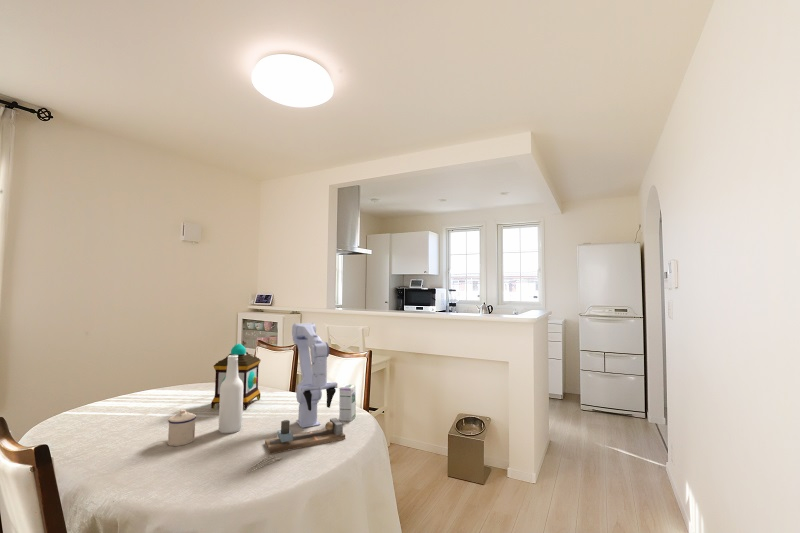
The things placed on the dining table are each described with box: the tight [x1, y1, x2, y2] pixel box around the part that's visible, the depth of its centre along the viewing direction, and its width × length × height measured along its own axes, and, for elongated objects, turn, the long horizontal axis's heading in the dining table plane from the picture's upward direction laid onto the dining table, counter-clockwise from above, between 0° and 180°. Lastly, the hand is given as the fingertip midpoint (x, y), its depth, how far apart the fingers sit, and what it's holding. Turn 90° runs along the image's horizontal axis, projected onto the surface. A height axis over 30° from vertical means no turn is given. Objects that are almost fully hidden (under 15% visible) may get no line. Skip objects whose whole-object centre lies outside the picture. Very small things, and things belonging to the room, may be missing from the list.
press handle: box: [277, 419, 293, 442], centre depth 139 cm, size 7×4×6 cm, turn 29°
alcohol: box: [218, 355, 244, 435], centre depth 155 cm, size 9×9×30 cm
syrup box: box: [338, 384, 357, 422], centre depth 168 cm, size 6×6×14 cm
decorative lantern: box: [210, 343, 261, 411], centre depth 189 cm, size 20×20×30 cm
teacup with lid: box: [167, 409, 197, 447], centre depth 143 cm, size 12×9×12 cm
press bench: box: [264, 417, 346, 455], centre depth 143 cm, size 10×28×6 cm, turn 119°
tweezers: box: [243, 454, 282, 475], centre depth 122 cm, size 17×5×2 cm, turn 150°
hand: (319, 408), depth 149 cm, fingers open, 7 cm apart
